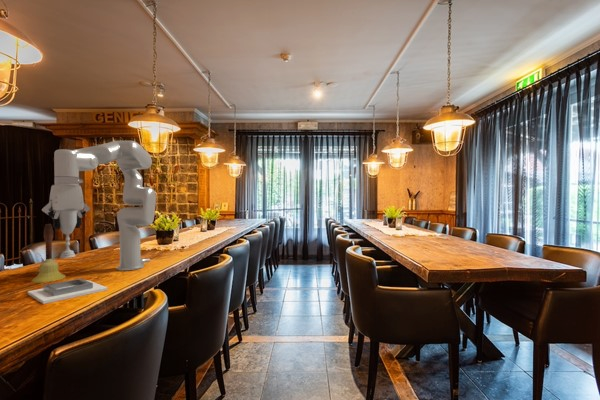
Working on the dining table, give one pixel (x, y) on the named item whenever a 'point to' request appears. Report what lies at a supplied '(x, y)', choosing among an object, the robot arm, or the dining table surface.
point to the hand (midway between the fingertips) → (67, 228)
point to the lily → (41, 262)
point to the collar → (54, 290)
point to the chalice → (67, 229)
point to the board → (48, 298)
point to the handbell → (48, 261)
